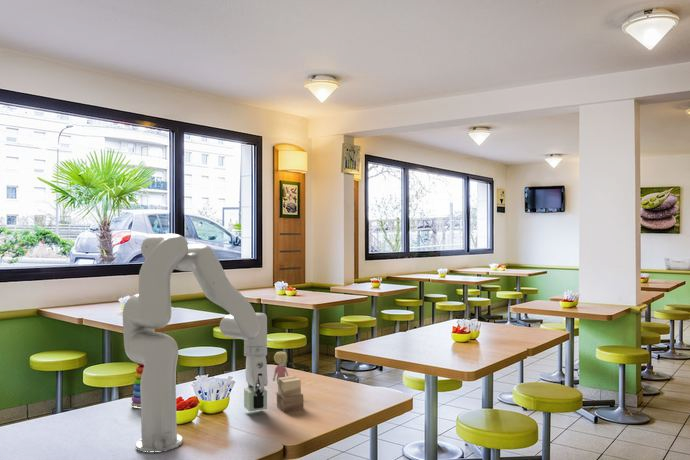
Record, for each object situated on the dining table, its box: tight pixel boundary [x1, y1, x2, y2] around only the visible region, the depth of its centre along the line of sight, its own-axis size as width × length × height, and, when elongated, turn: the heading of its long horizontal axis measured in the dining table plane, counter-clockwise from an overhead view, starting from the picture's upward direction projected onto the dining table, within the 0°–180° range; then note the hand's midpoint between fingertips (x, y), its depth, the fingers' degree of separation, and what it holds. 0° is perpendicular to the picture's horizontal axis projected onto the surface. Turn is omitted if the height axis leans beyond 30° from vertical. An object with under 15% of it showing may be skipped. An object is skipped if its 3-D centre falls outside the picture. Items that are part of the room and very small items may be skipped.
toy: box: [272, 351, 290, 385], centre depth 208 cm, size 7×5×15 cm
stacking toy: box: [130, 363, 144, 407], centre depth 194 cm, size 8×8×19 cm
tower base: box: [276, 391, 305, 413], centre depth 188 cm, size 7×7×5 cm
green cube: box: [243, 387, 268, 412], centre depth 184 cm, size 6×6×6 cm
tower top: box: [277, 375, 302, 397], centre depth 188 cm, size 6×6×5 cm
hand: (255, 404), depth 184 cm, fingers closed on green cube, 6 cm apart
